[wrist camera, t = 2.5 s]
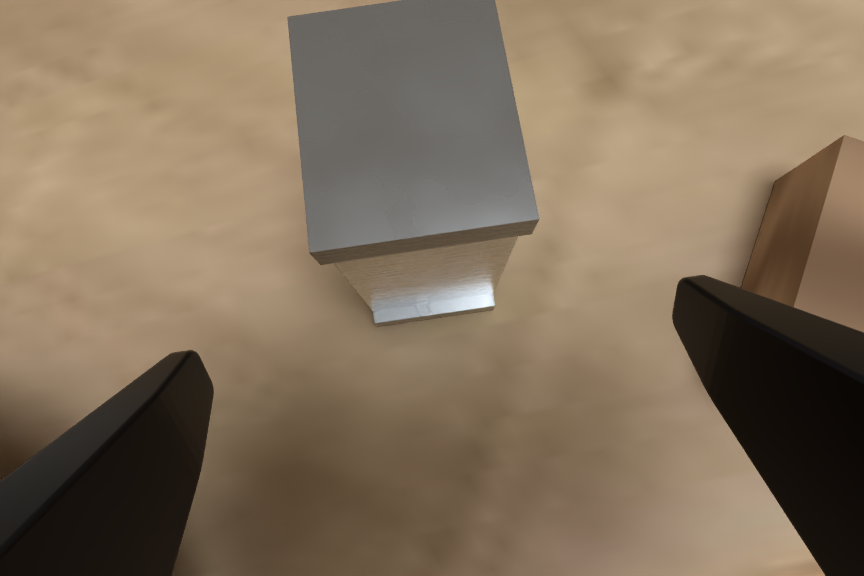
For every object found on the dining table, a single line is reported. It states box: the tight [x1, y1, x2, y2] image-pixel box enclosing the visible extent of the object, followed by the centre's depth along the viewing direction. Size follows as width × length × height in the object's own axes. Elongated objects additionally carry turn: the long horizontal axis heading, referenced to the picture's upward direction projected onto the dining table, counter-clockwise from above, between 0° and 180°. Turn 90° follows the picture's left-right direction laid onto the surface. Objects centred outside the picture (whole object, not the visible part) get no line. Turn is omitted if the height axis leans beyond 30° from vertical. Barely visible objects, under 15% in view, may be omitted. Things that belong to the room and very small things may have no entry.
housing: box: [288, 0, 539, 327], centre depth 17 cm, size 6×5×11 cm
